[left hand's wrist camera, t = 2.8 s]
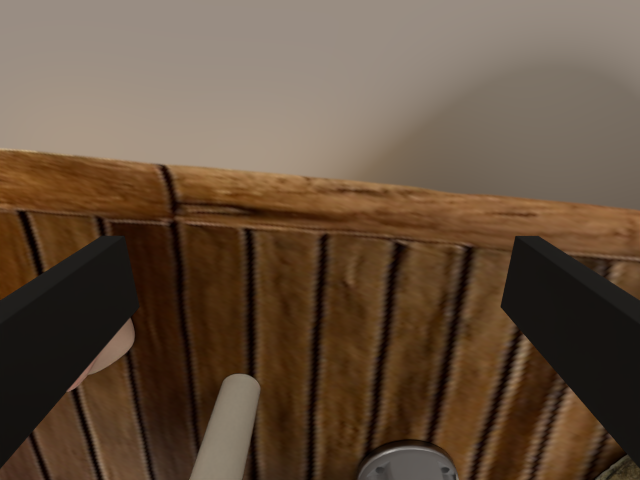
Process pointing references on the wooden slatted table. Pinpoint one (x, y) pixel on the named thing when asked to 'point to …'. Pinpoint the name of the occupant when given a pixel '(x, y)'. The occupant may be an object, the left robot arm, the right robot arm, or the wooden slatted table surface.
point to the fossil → (621, 470)
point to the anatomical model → (110, 352)
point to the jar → (228, 431)
